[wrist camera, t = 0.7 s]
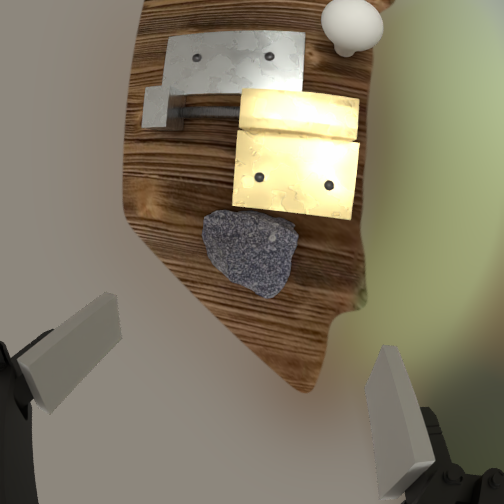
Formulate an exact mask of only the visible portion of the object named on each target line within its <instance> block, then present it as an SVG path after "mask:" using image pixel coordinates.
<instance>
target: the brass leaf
mask: <svg viewBox="0 0 504 504" xmlns="http://www.w3.org/2000/svg"><path fill="white" fill-rule="evenodd" d="M358 112H359V99H355V98H349V97H342V96H335V95H328V94H320V93H311V92H302V91H290V90H276V89H255V88H242V95H241V106H240V118H239V127H240V128H242V129H244V130H245V131H238V133H237V146H236V159H235V172H234V186H233V201H232V206H240V207H249V208H259V209H268V210H277V211H285V212H294V213H302V214H310V215H318V216H325V217H333V218H340V219H347V220H351V213H352V205H353V198H354V190H355V182H356V173H357V163H358V153H359V143H355V142H352V141H354V140H356V139H357V128H358Z"/></svg>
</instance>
